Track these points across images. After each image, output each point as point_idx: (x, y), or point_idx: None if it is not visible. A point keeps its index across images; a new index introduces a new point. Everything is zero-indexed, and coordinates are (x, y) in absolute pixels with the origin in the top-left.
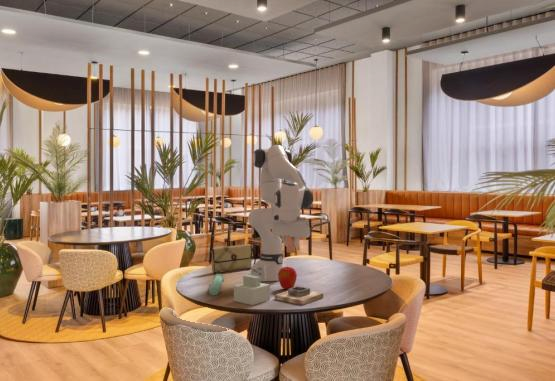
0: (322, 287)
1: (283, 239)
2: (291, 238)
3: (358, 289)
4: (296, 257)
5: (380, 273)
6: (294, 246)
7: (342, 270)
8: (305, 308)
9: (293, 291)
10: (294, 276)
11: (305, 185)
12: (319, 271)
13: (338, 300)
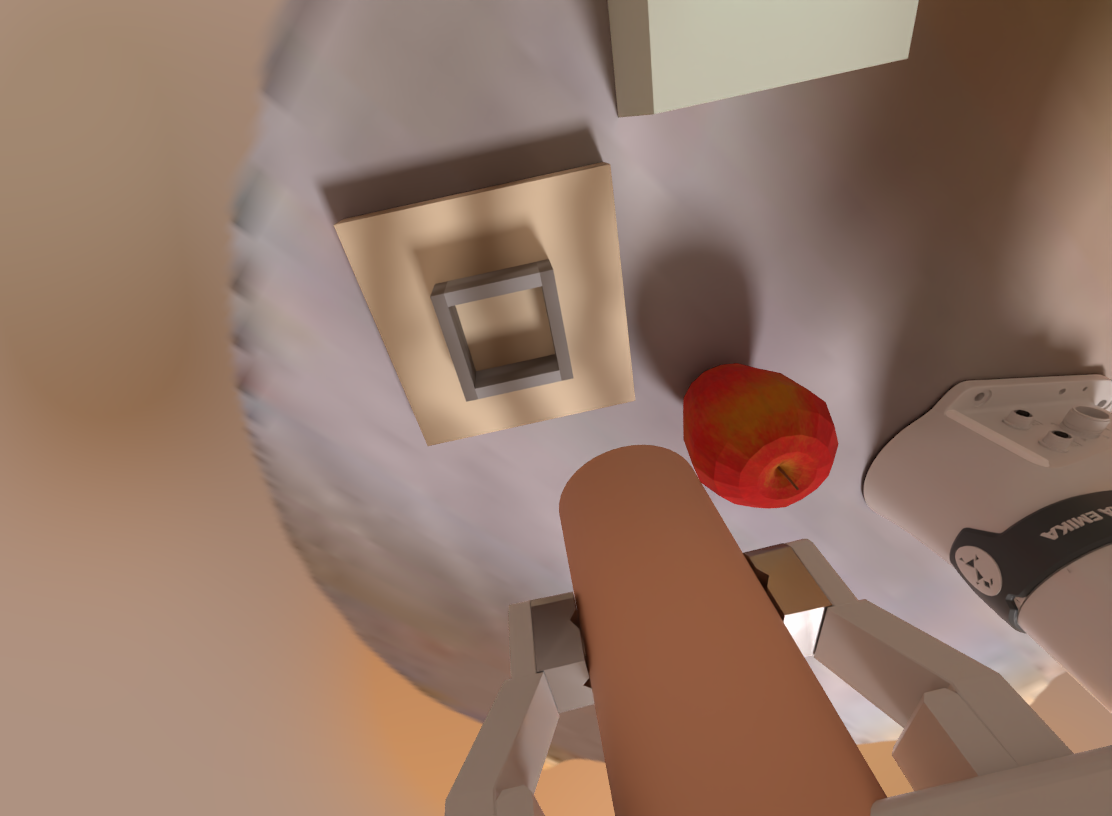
0: None
1: (926, 662)
2: (641, 786)
3: (458, 616)
4: None
5: (595, 755)
6: (537, 603)
7: None
8: (247, 173)
9: (499, 278)
10: (691, 454)
11: None
12: None
13: (330, 454)
